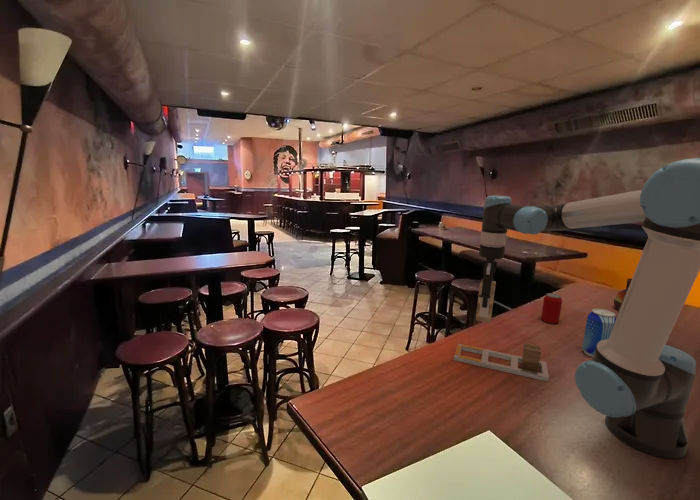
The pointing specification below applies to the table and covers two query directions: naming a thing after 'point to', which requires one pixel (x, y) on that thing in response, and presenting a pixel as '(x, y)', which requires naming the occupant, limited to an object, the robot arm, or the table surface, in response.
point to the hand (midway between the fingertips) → (484, 312)
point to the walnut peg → (531, 357)
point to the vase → (621, 295)
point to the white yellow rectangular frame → (495, 366)
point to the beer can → (597, 329)
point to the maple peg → (488, 319)
